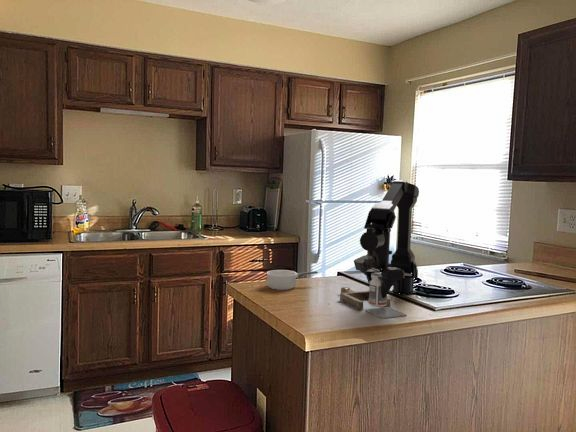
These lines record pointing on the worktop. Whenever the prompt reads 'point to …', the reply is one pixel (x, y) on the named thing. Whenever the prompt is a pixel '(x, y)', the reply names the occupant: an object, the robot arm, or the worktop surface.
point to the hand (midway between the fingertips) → (378, 295)
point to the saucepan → (284, 279)
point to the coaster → (386, 312)
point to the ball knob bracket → (356, 298)
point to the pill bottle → (376, 291)
